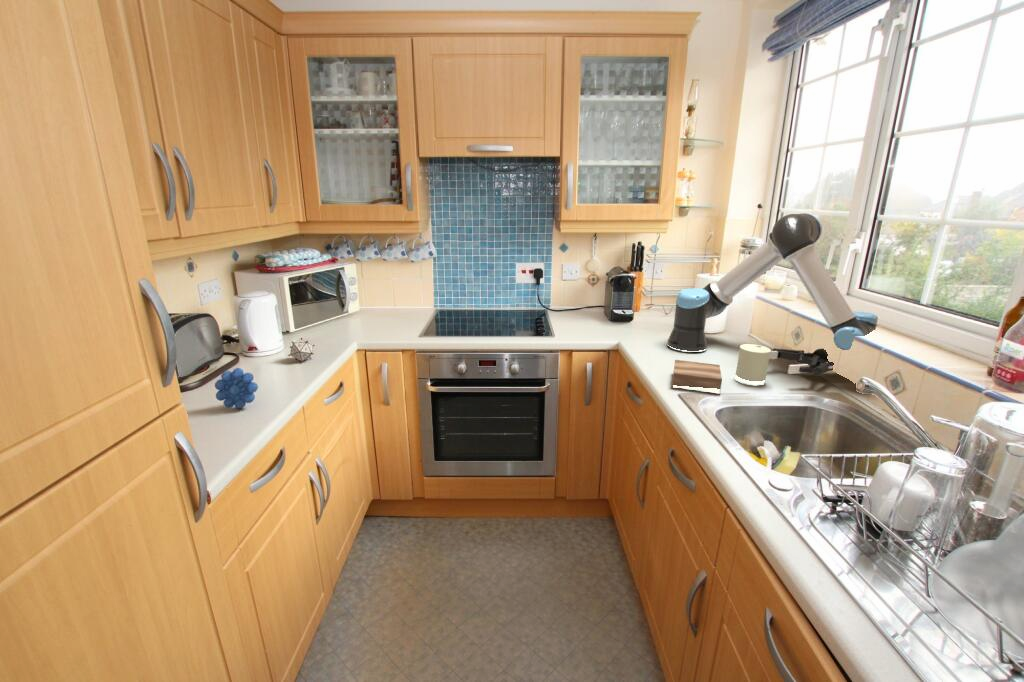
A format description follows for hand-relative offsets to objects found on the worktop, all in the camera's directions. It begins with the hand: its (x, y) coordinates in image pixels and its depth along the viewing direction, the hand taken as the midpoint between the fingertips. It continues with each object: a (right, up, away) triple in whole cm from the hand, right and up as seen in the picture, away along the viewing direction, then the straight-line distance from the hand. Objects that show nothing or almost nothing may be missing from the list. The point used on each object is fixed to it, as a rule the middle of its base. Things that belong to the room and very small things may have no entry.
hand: (773, 362), depth 154 cm
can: (-8, -6, +1) cm, 10 cm away
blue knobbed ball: (-162, -12, -23) cm, 164 cm away
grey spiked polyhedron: (-162, 0, +15) cm, 162 cm away
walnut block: (-27, -7, -2) cm, 27 cm away
